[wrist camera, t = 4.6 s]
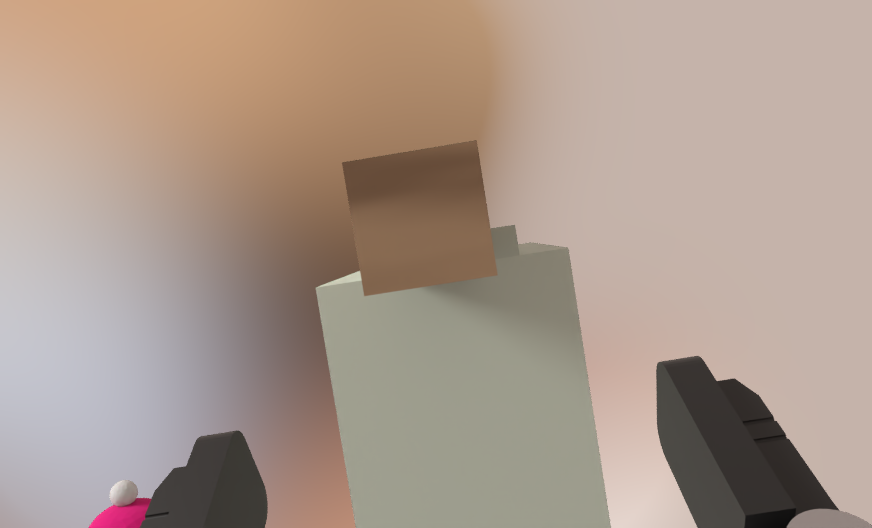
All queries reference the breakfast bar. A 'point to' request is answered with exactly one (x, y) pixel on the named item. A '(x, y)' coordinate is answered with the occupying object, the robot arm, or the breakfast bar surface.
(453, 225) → the bar
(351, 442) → the post
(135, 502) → the pepper mill
